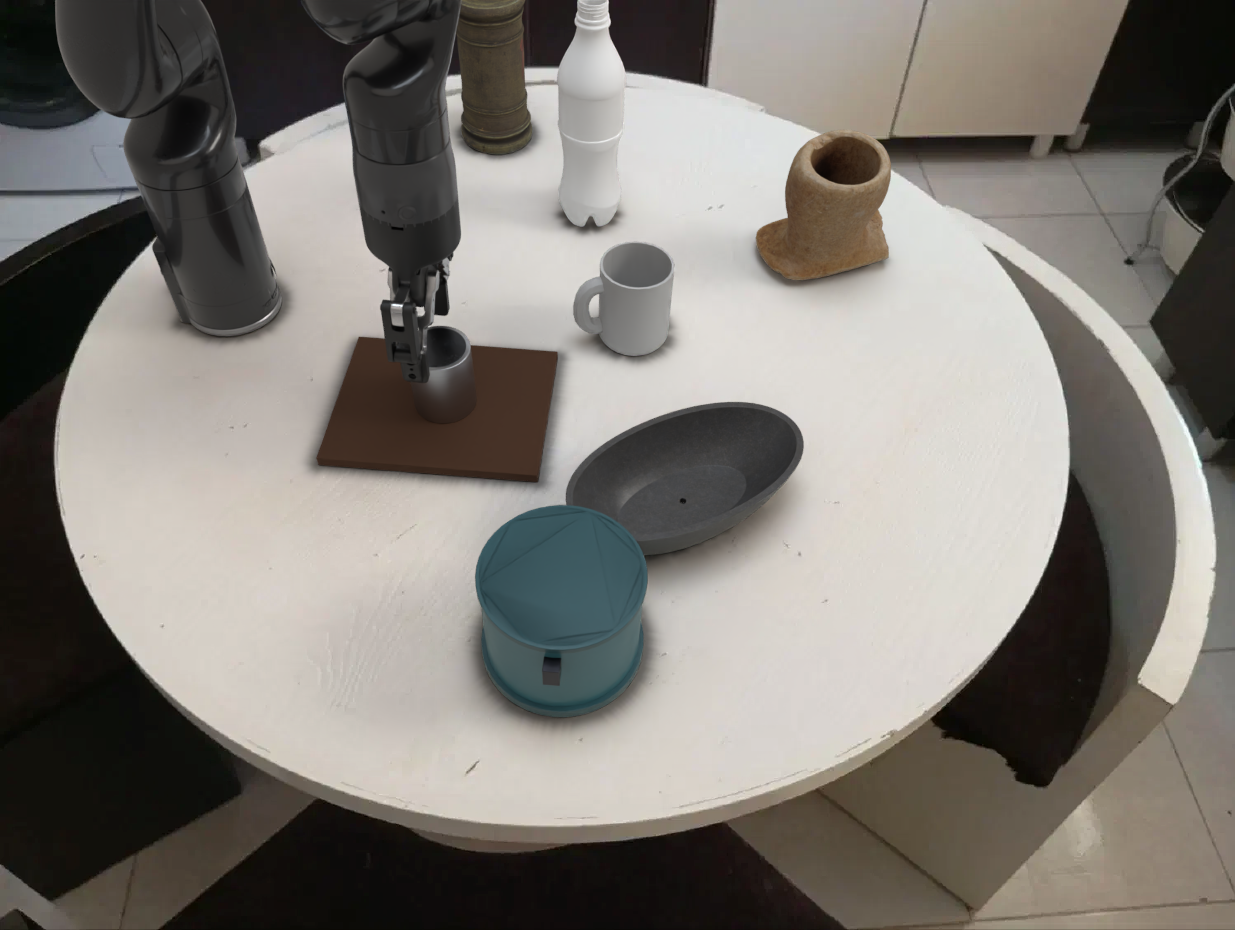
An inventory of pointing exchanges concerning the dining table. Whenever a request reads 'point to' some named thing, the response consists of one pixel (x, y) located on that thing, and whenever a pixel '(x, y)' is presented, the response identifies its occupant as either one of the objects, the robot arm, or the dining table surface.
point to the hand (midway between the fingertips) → (427, 345)
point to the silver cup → (446, 377)
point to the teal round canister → (561, 609)
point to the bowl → (689, 472)
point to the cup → (629, 298)
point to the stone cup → (830, 208)
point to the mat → (472, 447)
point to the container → (493, 76)
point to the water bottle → (591, 118)
